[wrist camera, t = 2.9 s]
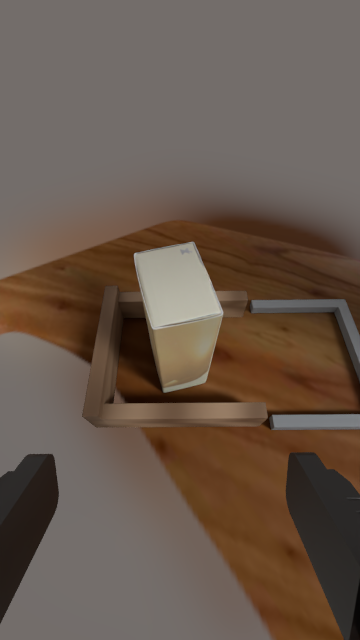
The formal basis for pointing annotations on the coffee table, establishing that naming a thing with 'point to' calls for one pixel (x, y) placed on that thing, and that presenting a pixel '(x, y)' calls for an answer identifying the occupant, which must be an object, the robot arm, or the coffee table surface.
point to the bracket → (355, 344)
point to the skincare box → (179, 313)
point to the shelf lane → (153, 414)
